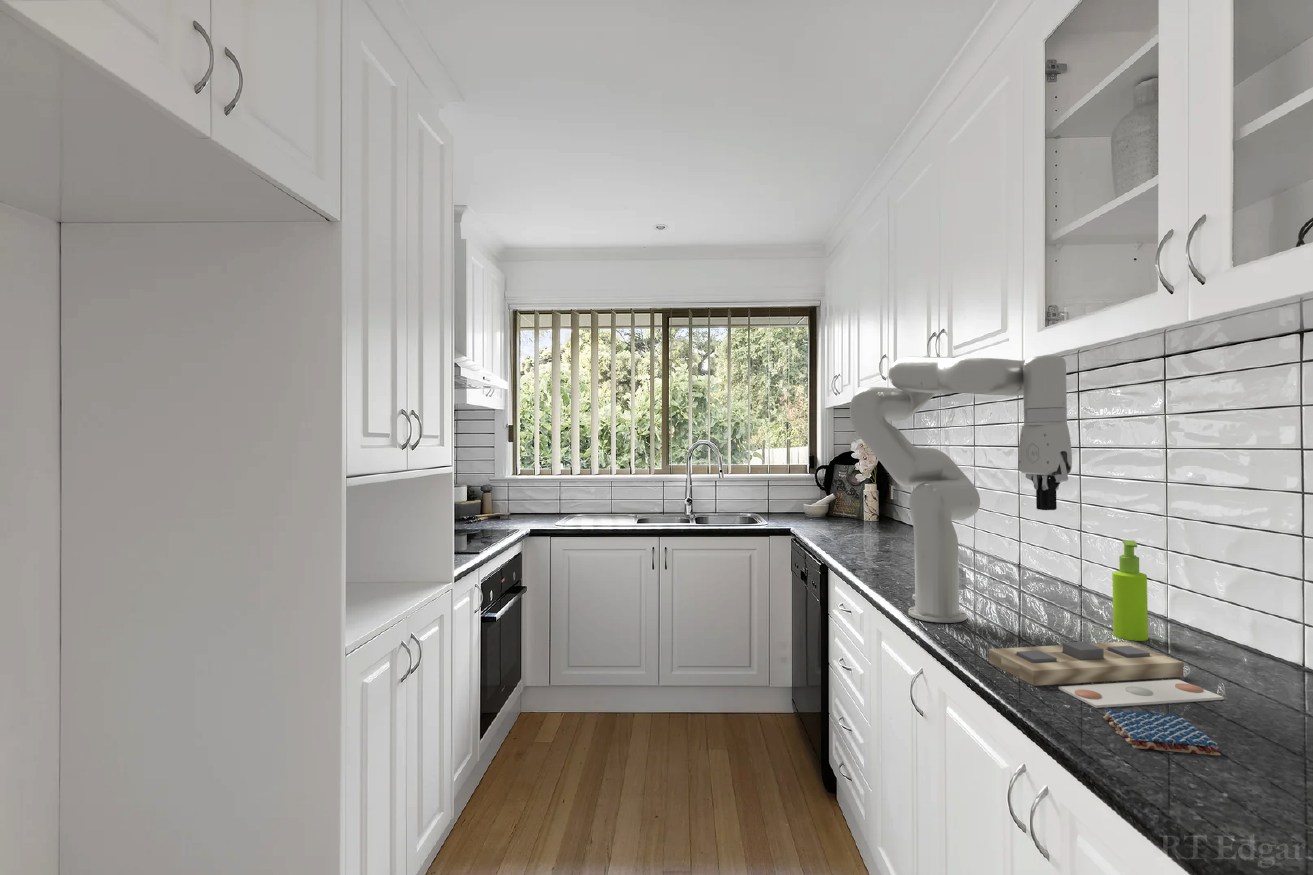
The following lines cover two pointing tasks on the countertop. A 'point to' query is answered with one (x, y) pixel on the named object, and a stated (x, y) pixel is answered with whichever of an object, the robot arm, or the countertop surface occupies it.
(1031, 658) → the button
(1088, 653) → the button
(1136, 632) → the soap dispenser
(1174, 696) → the card
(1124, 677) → the button board
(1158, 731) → the woven mat
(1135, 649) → the button
